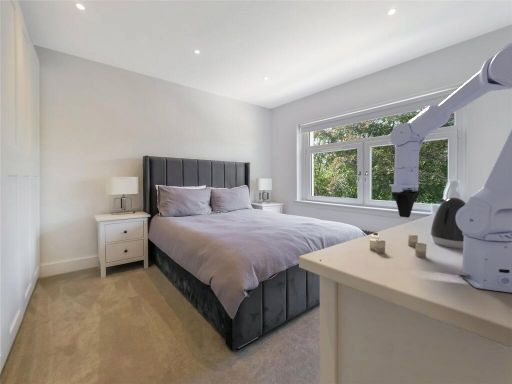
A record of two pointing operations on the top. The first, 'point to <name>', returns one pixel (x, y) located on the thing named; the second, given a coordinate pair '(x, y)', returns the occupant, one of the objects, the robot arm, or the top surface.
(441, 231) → the dark grey tapered dome
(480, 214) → the robot arm
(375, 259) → the top surface
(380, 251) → the stool seat
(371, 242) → the hinged leg
